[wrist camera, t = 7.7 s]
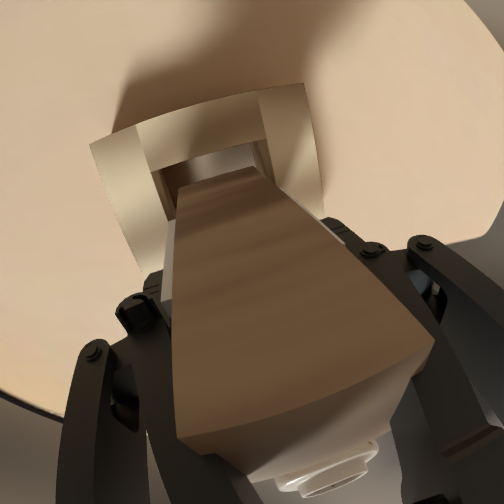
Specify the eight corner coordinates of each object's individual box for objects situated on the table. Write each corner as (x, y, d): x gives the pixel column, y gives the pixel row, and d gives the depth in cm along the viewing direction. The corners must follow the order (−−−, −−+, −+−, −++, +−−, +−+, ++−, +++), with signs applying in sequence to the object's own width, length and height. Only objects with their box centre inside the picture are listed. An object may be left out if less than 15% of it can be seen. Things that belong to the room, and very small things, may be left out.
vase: (356, 380, 42) (400, 455, 27) (294, 425, 45) (323, 496, 31) (305, 361, 34) (356, 468, 20) (234, 414, 38) (259, 508, 24)
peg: (178, 188, 15) (176, 437, 3) (252, 166, 16) (435, 339, 4) (200, 252, 18) (245, 484, 6) (267, 232, 18) (390, 430, 6)
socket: (110, 136, 17) (89, 144, 13) (277, 88, 18) (303, 83, 14) (165, 277, 24) (164, 314, 20) (304, 234, 25) (328, 262, 21)
